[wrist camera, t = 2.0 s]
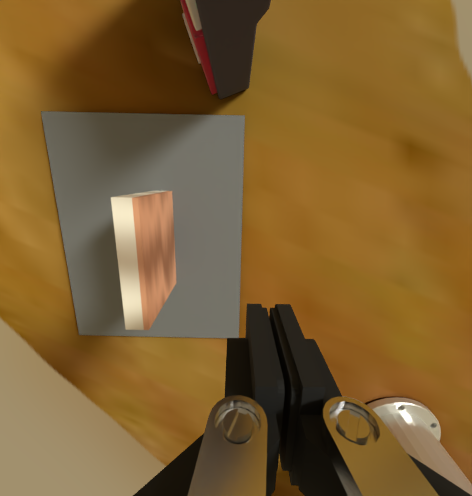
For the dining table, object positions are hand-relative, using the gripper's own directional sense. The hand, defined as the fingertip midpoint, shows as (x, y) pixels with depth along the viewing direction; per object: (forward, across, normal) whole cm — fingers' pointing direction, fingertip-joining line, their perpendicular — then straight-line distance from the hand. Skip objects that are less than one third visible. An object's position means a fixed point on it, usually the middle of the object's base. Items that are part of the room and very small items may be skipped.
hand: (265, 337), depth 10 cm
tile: (+17, +8, +1) cm, 19 cm away
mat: (+18, +10, +1) cm, 21 cm away
